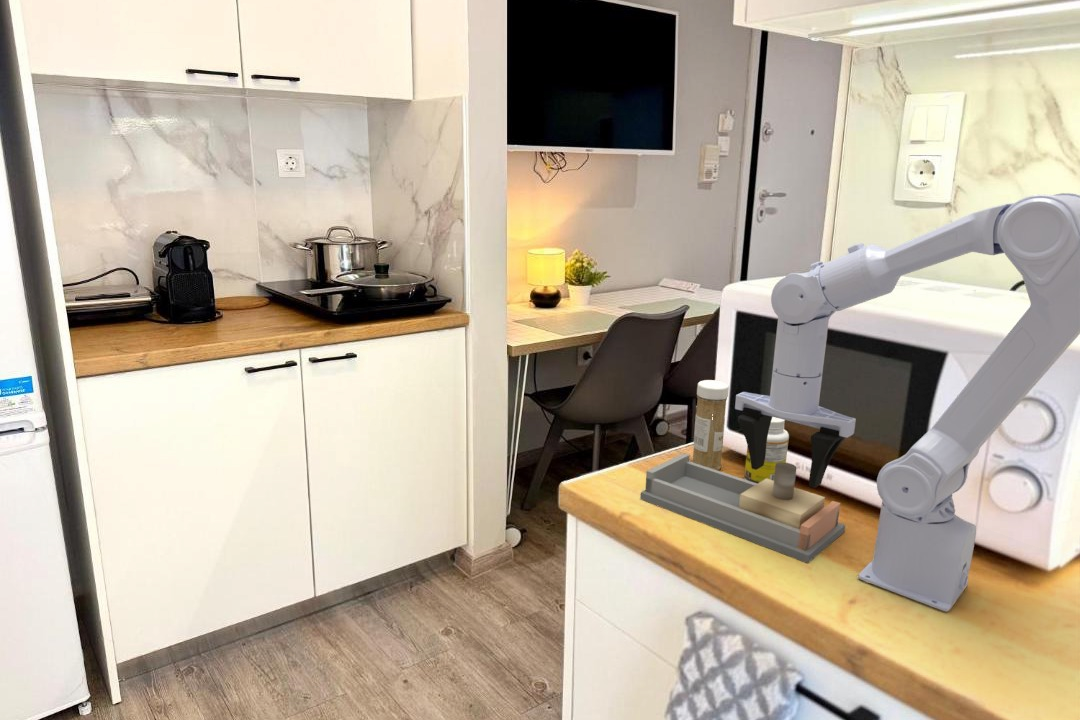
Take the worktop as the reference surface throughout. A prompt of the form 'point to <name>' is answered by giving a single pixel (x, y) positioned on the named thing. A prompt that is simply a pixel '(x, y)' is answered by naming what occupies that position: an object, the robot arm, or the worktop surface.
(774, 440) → the supplement bottle
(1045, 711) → the worktop surface
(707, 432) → the brown spice jar
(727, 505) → the tray
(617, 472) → the worktop surface
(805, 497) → the beige knobbed block
